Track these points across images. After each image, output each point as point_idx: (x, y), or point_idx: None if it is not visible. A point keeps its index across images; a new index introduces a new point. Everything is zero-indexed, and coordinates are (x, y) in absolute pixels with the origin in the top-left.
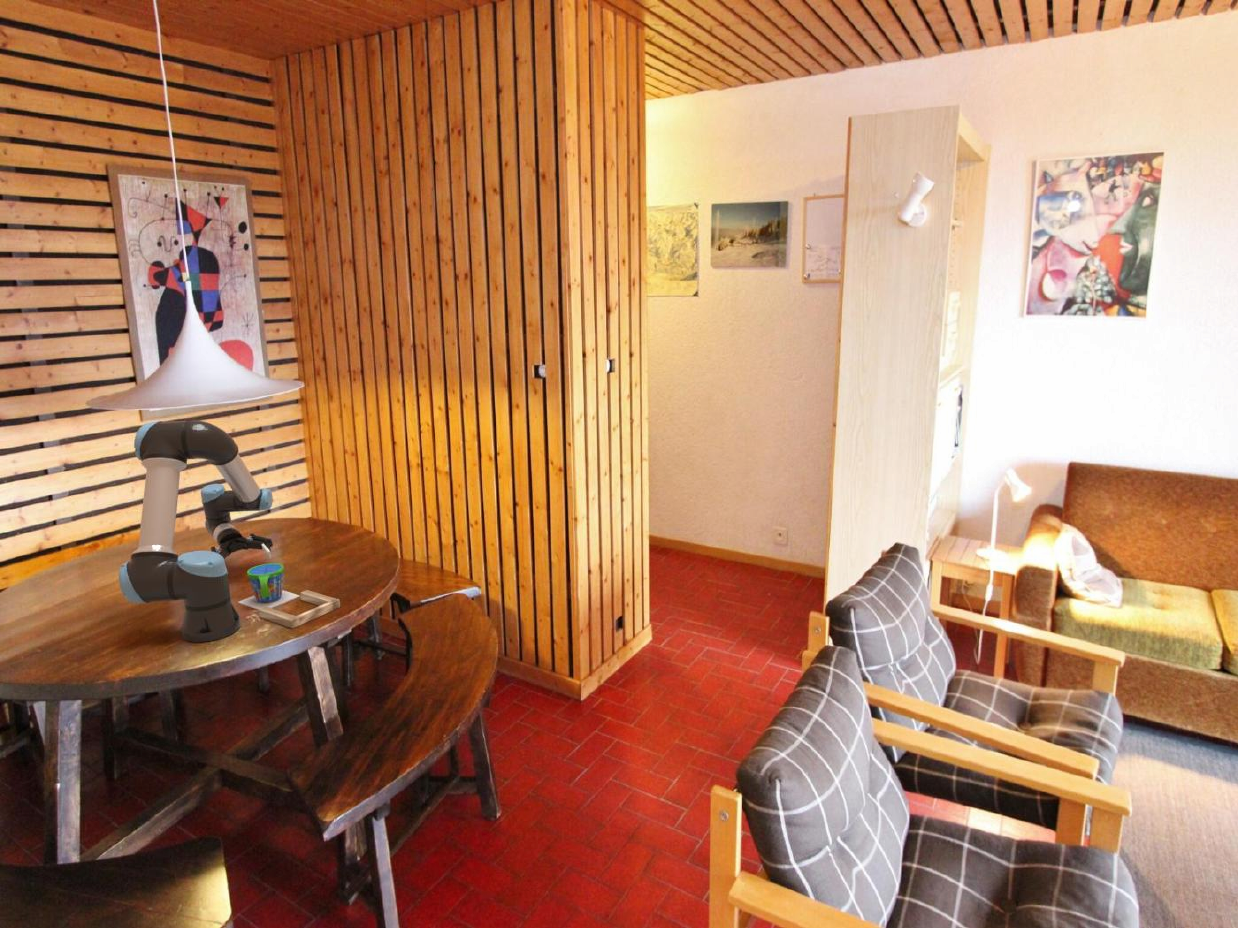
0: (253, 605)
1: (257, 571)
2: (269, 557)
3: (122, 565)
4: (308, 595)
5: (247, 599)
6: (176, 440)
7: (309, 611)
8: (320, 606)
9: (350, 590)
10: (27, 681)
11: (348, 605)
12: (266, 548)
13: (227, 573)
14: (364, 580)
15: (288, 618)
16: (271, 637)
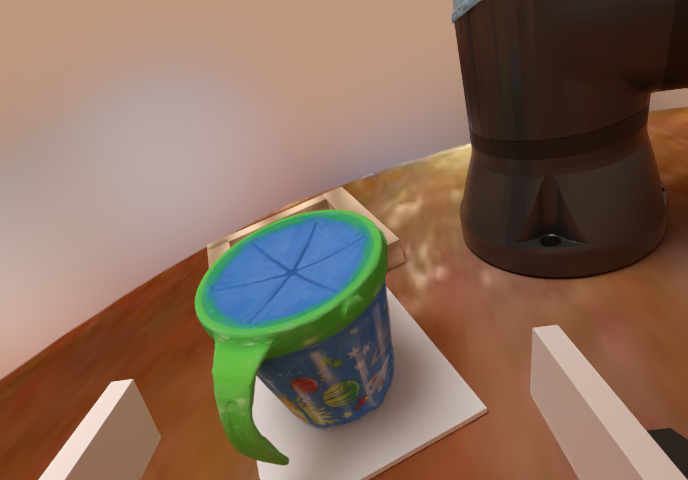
0: (414, 338)
1: (327, 272)
2: (153, 428)
3: None
4: None
5: (435, 418)
6: None
7: (291, 211)
8: (259, 226)
9: (118, 346)
10: None
11: (199, 265)
12: (72, 450)
13: (534, 389)
14: (21, 408)
15: (343, 193)
16: (395, 184)
